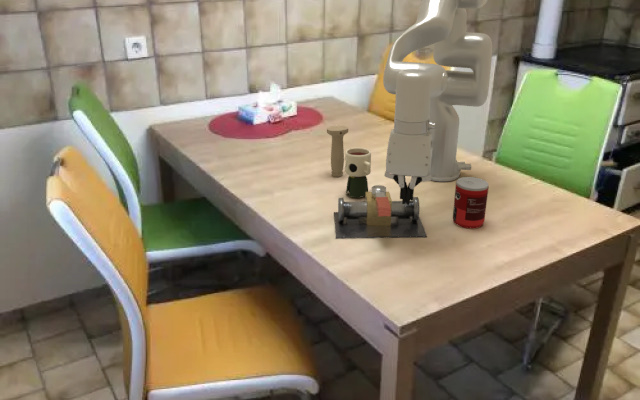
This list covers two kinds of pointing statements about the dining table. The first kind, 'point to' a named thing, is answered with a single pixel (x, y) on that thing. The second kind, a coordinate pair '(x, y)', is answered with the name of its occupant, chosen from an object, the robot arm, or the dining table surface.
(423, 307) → the dining table surface
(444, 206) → the dining table surface
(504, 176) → the dining table surface
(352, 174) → the character mug
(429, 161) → the robot arm
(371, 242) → the dining table surface
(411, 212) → the valve
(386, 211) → the lever
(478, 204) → the canned food
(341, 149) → the handle
